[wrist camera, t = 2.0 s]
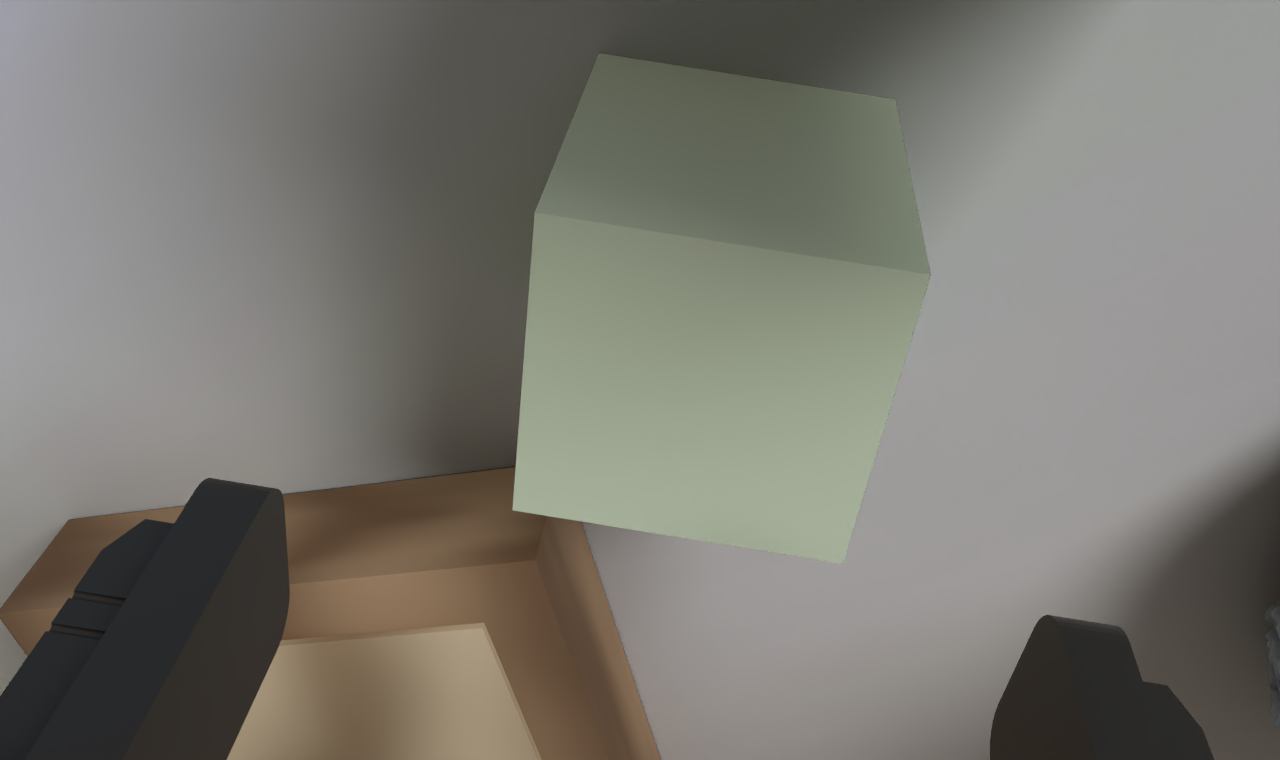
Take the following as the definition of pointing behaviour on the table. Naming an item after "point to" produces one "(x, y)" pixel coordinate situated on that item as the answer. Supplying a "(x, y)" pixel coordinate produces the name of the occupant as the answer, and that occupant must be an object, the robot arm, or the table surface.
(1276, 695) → the koala plush
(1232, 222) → the table surface
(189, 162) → the table surface
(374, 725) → the walnut base
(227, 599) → the robot arm
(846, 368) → the sage block
